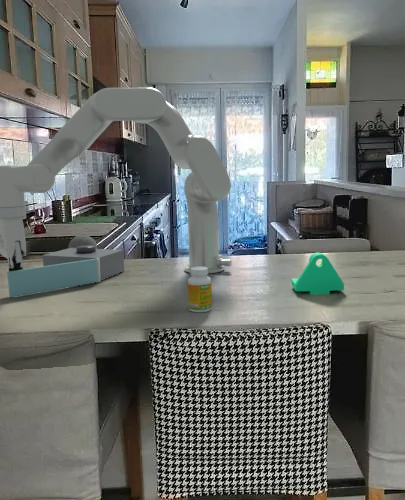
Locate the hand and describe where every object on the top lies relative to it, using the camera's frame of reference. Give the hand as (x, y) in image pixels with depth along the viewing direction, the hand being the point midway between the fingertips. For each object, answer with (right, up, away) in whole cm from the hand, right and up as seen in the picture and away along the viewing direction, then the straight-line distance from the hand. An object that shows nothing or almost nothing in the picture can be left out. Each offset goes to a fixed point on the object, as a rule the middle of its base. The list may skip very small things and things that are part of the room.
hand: (16, 282), depth 128 cm
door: (+10, -2, +4) cm, 11 cm away
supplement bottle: (+49, -5, -18) cm, 52 cm away
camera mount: (+79, -2, -4) cm, 79 cm away
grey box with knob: (+13, +1, +23) cm, 26 cm away
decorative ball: (+8, +4, +42) cm, 43 cm away
